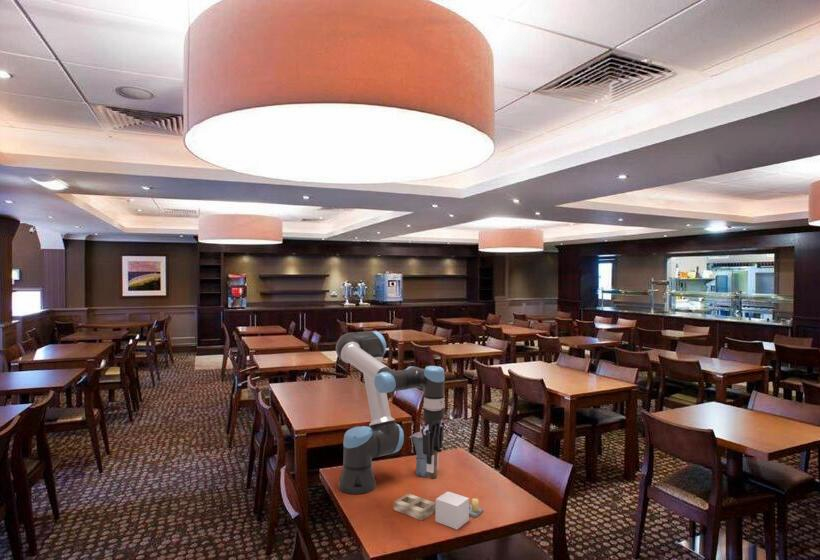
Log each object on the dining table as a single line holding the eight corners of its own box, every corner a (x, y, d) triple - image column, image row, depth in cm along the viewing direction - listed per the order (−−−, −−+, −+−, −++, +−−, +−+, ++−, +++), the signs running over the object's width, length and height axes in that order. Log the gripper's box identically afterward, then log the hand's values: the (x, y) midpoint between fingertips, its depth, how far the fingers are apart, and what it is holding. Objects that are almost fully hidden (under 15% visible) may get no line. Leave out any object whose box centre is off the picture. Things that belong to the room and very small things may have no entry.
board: (458, 512, 178) (458, 498, 178) (466, 506, 183) (466, 493, 183) (475, 517, 174) (475, 504, 174) (483, 511, 179) (483, 498, 179)
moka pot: (406, 470, 216) (406, 426, 216) (438, 467, 221) (439, 423, 221) (412, 479, 207) (413, 432, 207) (446, 475, 212) (446, 429, 212)
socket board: (393, 509, 179) (393, 501, 179) (408, 501, 187) (408, 493, 187) (422, 520, 172) (422, 512, 172) (436, 511, 179) (436, 503, 179)
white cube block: (435, 521, 171) (435, 499, 171) (447, 512, 178) (447, 491, 178) (457, 529, 166) (457, 506, 166) (468, 520, 172) (469, 498, 172)
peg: (426, 477, 181) (427, 451, 181) (431, 475, 183) (431, 448, 183) (434, 480, 179) (434, 453, 179) (438, 477, 182) (438, 450, 182)
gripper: (431, 414, 172) (430, 480, 173) (452, 405, 185) (451, 466, 186) (413, 411, 177) (412, 474, 177) (435, 402, 190) (434, 461, 190)
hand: (432, 470), depth 181 cm, fingers closed on peg, 3 cm apart
